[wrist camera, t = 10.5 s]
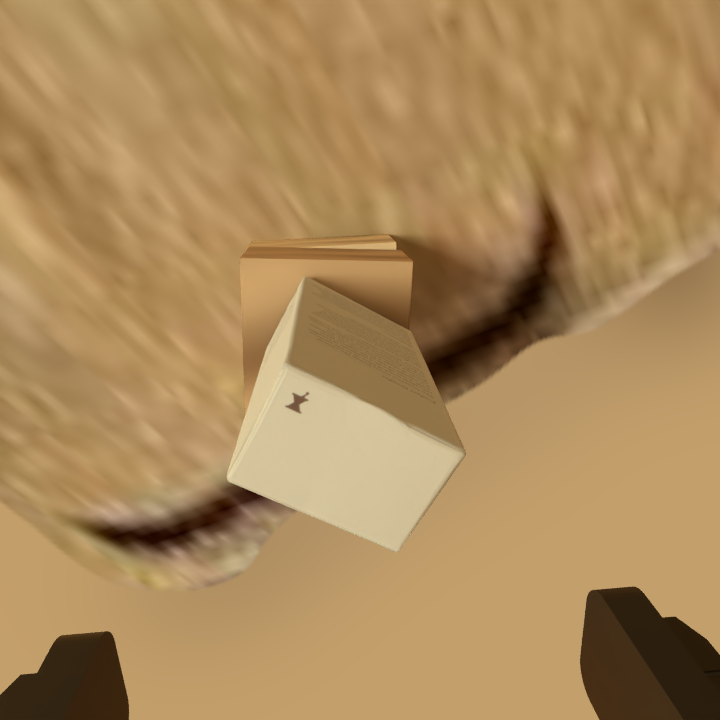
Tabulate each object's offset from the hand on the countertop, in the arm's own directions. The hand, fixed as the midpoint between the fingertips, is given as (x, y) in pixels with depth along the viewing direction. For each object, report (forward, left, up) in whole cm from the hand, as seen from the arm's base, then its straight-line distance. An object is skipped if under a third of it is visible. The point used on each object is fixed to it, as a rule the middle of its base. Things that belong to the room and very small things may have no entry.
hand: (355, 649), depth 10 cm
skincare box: (0, +1, -19) cm, 19 cm away
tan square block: (0, 0, -23) cm, 23 cm away
